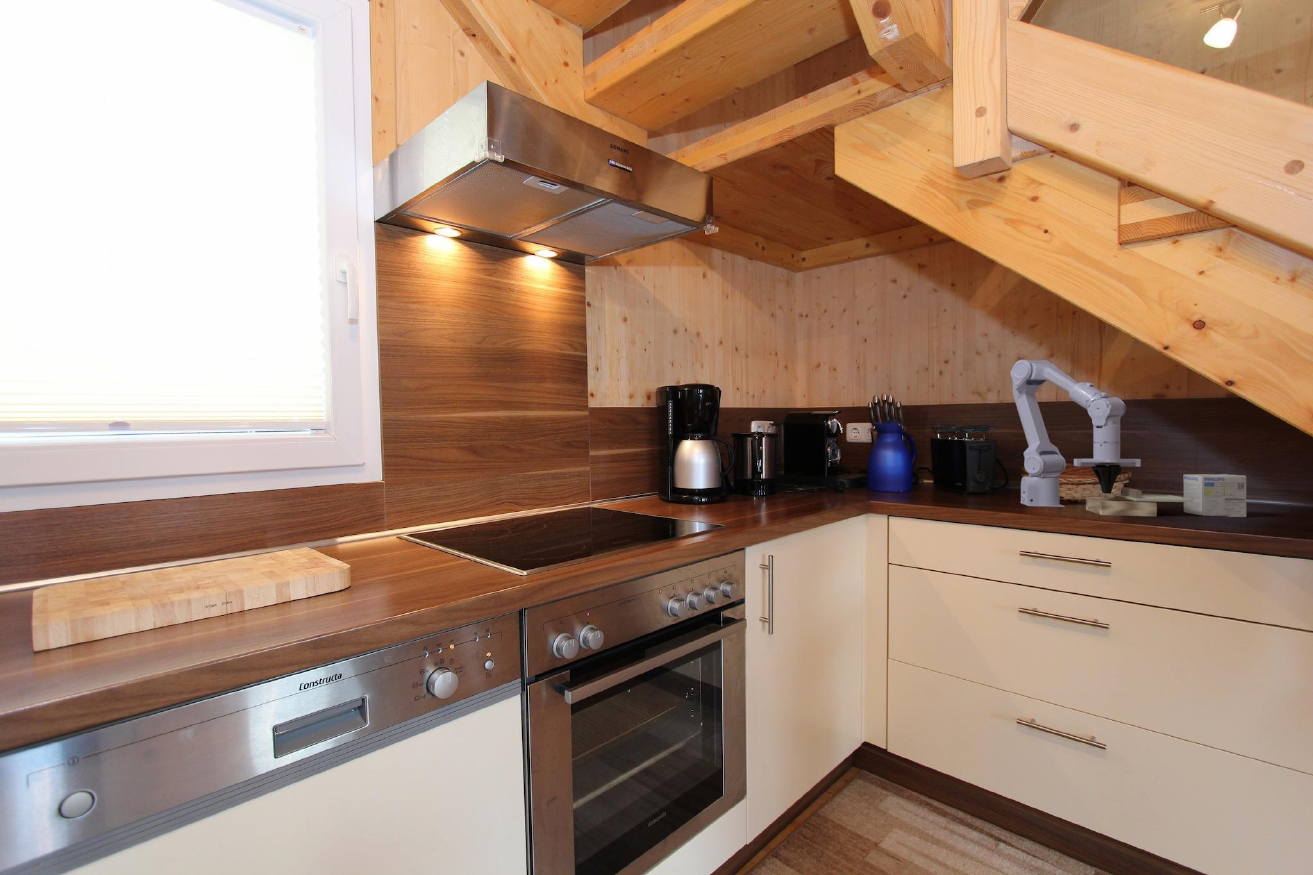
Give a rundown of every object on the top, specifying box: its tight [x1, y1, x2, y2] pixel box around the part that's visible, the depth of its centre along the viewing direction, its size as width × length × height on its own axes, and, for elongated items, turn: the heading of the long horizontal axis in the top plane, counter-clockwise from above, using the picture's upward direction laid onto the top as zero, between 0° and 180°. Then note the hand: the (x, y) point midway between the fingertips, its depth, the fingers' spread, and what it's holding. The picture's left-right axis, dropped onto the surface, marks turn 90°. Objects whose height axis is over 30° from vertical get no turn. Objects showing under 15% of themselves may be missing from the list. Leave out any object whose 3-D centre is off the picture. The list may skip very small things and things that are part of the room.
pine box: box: [1085, 496, 1158, 517], centre depth 158 cm, size 12×10×4 cm
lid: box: [1117, 487, 1193, 503], centre depth 155 cm, size 12×10×3 cm
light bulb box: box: [1182, 473, 1247, 518], centre depth 154 cm, size 11×7×11 cm, turn 84°
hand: (1106, 493), depth 158 cm, fingers closed
